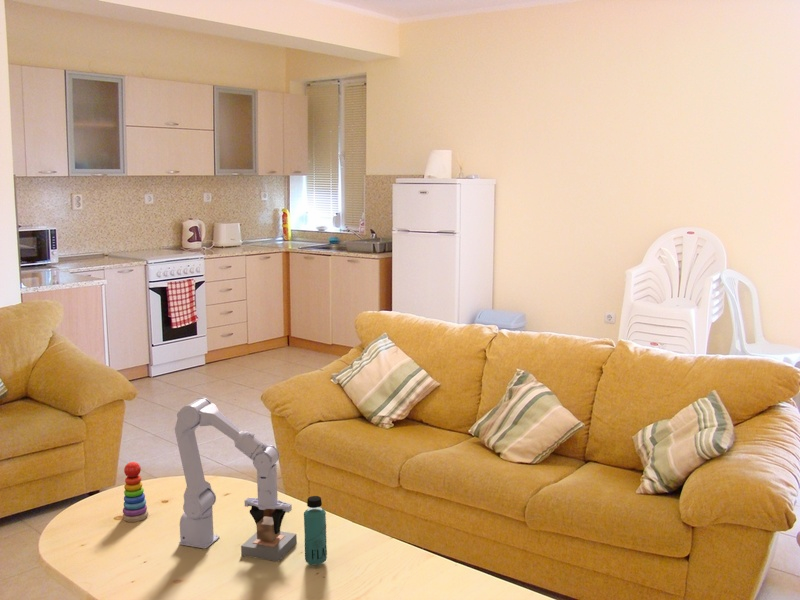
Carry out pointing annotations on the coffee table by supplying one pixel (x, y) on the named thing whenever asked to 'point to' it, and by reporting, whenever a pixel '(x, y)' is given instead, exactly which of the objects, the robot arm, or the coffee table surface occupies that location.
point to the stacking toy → (134, 494)
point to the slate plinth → (269, 547)
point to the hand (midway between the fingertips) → (268, 531)
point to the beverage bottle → (315, 532)
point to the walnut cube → (266, 529)
